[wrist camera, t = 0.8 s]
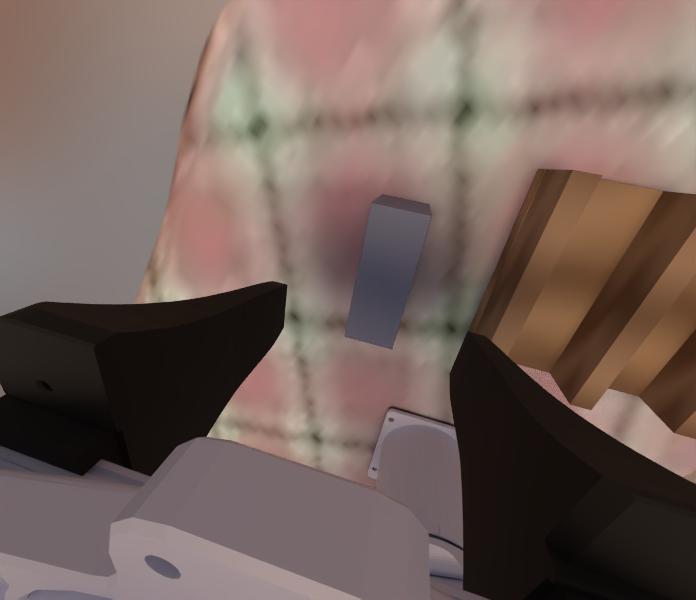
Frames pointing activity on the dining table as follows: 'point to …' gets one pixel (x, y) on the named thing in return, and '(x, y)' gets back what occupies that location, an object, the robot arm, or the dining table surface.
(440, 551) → the robot arm
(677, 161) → the dining table surface
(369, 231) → the tall slate-grey prism
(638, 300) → the rack
